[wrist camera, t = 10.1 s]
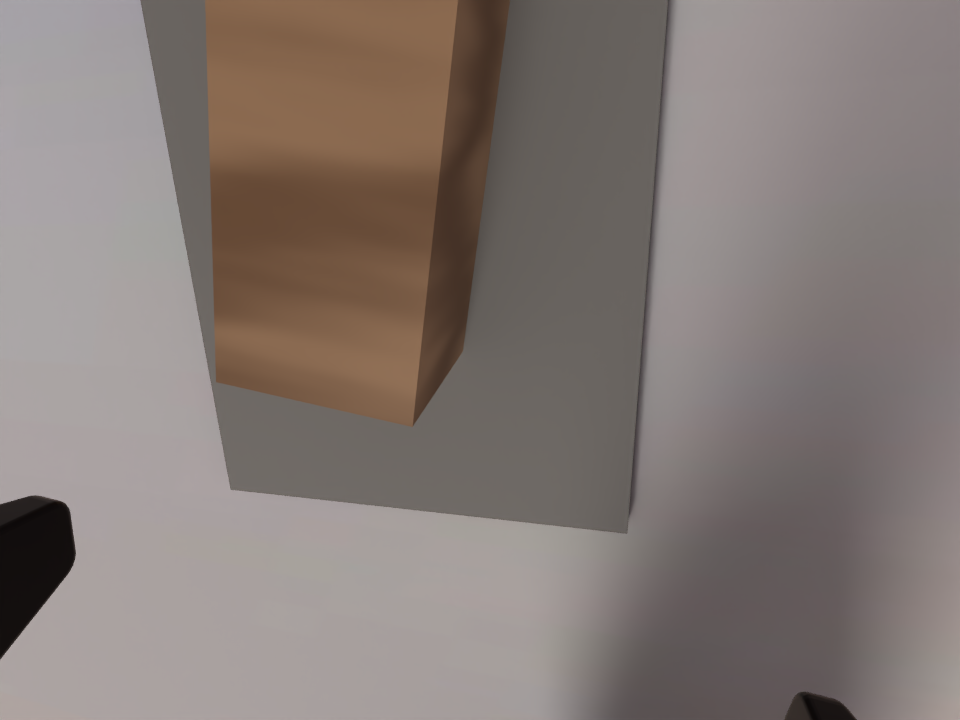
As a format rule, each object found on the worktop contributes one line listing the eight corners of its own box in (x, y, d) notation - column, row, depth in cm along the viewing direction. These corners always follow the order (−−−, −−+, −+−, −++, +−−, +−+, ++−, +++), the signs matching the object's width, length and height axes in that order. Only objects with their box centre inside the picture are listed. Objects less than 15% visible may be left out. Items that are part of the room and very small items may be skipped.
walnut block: (412, 426, 15) (491, -309, 10) (215, 382, 16) (196, -326, 11) (462, 351, 20) (534, -182, 15) (308, 319, 20) (324, -200, 15)
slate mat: (627, 522, 21) (627, 533, 21) (239, 480, 24) (230, 489, 24) (707, -528, 13) (710, -556, 12) (83, -400, 15) (63, -418, 15)
